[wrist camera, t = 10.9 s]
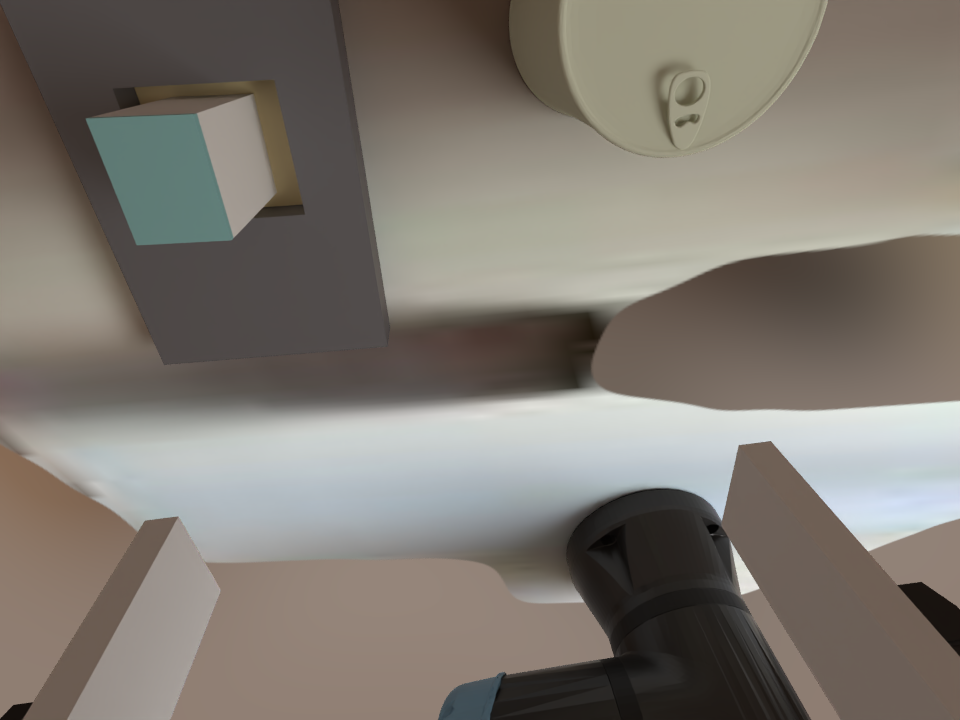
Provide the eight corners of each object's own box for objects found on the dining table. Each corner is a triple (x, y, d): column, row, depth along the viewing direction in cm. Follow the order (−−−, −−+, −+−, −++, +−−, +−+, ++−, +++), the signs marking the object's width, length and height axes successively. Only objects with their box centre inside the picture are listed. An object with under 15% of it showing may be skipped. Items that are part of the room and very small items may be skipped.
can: (517, 130, 29) (565, 181, 19) (498, -82, 24) (549, -166, 14) (678, 103, 29) (812, 141, 19) (693, -114, 24) (887, -222, 14)
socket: (390, 327, 35) (387, 346, 33) (180, 344, 34) (164, 364, 32) (331, -43, 24) (321, -51, 22) (22, -30, 23) (-18, -36, 21)
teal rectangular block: (277, 192, 29) (231, 240, 22) (204, 195, 29) (136, 245, 22) (253, 93, 26) (193, 114, 20) (173, 96, 26) (85, 118, 19)
